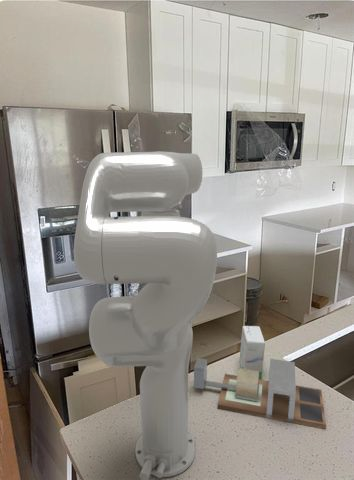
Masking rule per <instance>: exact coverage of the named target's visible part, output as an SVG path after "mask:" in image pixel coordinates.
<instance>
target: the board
mask: <svg viewBox="0 0 354 480" xmlns="http://www.w3.org/2000/svg"><path fill="white" fill-rule="evenodd" d="M237 376H238V375H235V374H228V373H224V377H223V380H222V383H223V384H228V385H234V386H236V384H237ZM258 383H259V392H258V402H257V401H252V400H246V399H241V398H235V392H236V391H233V390H227V389H222V388H220V394H219V397H218V401H217V410H224V411H228V412H234V413H239V414H245V415H249V416H256V417H260V418H263V419H264V418H266V414H267V400H268V387H269V384H268V383H269V380H265V379H261V380H260V379H258ZM289 398H290V396H288V395H282V394H276V393H274V394H273V406H272V415H271V414H269V416H271V417H272V418H271V417H270V418H271V419H270V418H269V419H270V420H275V421H282V422H287V423H290V422H289V421H288V419H289V418H288V408H289ZM267 417H268V416H267ZM266 419H267V418H266ZM290 419H292V418H290ZM292 424H297V425H302V426H308V427H313V428H317V429H322V430H326V429H327V422H326V415H325V406H324V399H323V392H322V389H320V388H313V387H308V386H307V387H306V386H303V385H302V386H300V385H296V398H295V408H294V418H293V421H292Z"/></svg>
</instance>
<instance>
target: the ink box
mask: <svg viewBox="0 0 354 480" xmlns="http://www.w3.org/2000/svg"><path fill="white" fill-rule="evenodd" d="M241 328H242V331H241V339H240V348H239V349H240V350H239V364H240V368H242V369H248V370H254V371H259V379H260V380H262V376H263V366H264V359H265V358H264V357H265V347H266V342H265V339H264V336H263V333H262V330H261V328H260V326H259V325H258V326H257V325H243V326H242V327H241Z"/></svg>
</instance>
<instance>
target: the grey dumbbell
mask: <svg viewBox="0 0 354 480" xmlns="http://www.w3.org/2000/svg"><path fill="white" fill-rule="evenodd" d="M207 370H208V359H207V358H206V359H205V358H199V357H197V358H196V361H195V364H194V366H193V388H195V389H202V390H204V389H205V386H206V387H211V388H217V389H221V388H222V389H227V390H233V391H236V392H235V398H241V399H246V400H252V401H257V402H258V392H259V383H258V379H259V371H254V370H248V369H242V368H241V367H239V368H238V372H237V375H236V376H237V384H236V386H234V385H228V384H223V382H222V383H221V382H215V381H210V380H207V378H208V377H207V376H208V375H207V374H208V371H207Z"/></svg>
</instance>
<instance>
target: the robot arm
mask: <svg viewBox="0 0 354 480" xmlns="http://www.w3.org/2000/svg"><path fill="white" fill-rule="evenodd" d="M202 181H203V163H202V161H201V158H200V156H199V155H198V154H197V153H186V152H185V153H181V152H174V151H158V150H157V151H136V152H135V151H129V152H128V151H126V152H125V151H124V152H119V151H118V152H102V153H99V154H97V155H96V156H94V157H93V158H92V160H91V161H90V163H89V165H88V167H87V169H86V173H85V176H84V179H83V183H82V188H81V194H80V201H79V207H78V213H77V220H76V227H75V233H74V238H73V239H74V240H73V242H74V243H73V261H74V265H75V269H76V271H77V273H78V275H79V276H80V278H81V279H83V280H84V281H85V282H88V283H90V284H95V285H123V284H126V285H127V284H130V285H131V284H145V285H143V287H142V288H140V290H139V291H138V292H137V294H136V295H134V296H133V295H131V296H129V295H126V296H110V297H104V298H102V299H100V300H98V302H96V303H95V305H94V306H93V308H92V310H91V312H90V316H89V322H88V323H89V325H88V333H89V342H90V345H91V349H92V350H93V352H94V355H95V356H96V357H97V358H98V359H99V360H100V361H101V362H102V363H103V364H104V365H105V366H107V367H112V368H116V367H117V368H124V367H126V368H128V367H129V368H130V367H145V368H144V370H143V371H142V374H141V377H140V380H139V395H140V397H139V398H140V399H139V400H140V416H141V417H140V419H141V434H140V435H139V437H138V439H137V440H136V443H135V450H134V452H135V459H136V462H137V463H138V465H139V467H140V468H141V471H140V473H139V475H138V476H139V479H140V480H149V479H150V476H151V475H152V476H154V477H157V478H158V479H161V478H169V477H170V478H171V477H174V476H177V475H179V474H181V473H183V472H184V471H186V470H187V469H188V468H189V467H190V466H191V465H192V463H193V462H194V460H195V456H196V442H195V440H194V438H193V436H192V434H191V433H190V432H189V366H190V359H191V351H192V348H193V340H194V334H193V327H192V326H193V325H192V324H191V322H192V321H193V320H194V319H195V318H196V317H197V316H198V315H199V313H200V312H201V311H202V309H203V308H204V306H205V305H206V303H207V302H208V299H209V297H210V295H211V292H212V289H213V286H214V282H215V278H216V273H217V272H216V271H217V266H218V265H217V264H218V247H217V242H216V239H215V235H214V233H213V232H212V230H211V229H210V228H209V227H208V226H207V225H206V224H205V223H203V222H201V221H198V220H196V219H193V218H190V217H184V216H181V214H180V210H178V209H177V208H182V201H183V200H184V199H185V197H186V196H187V195H192V194H195V193H197V192H198V191H199V190H200V188H201V185H202ZM116 212H117V213H121V212H122V213H126V212H127V213H130V212H131V213H136V212H140V213H141V215H140V216H139V215H137V216H135V215H134V216H133V215H131V216H110V215H111V213H116Z"/></svg>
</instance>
